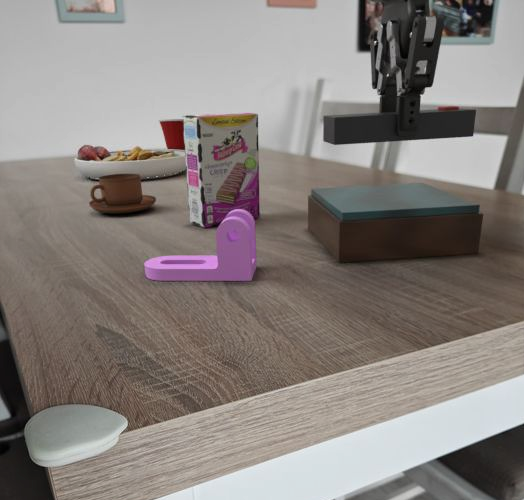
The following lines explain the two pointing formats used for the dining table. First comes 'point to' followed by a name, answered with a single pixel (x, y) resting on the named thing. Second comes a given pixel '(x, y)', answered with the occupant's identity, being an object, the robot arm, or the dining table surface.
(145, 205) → the cup and saucer
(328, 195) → the footstool
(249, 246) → the bracket
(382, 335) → the dining table surface
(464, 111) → the remote
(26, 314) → the dining table surface
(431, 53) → the robot arm
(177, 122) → the plastic cup
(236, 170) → the candy bar box
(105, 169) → the bowl
